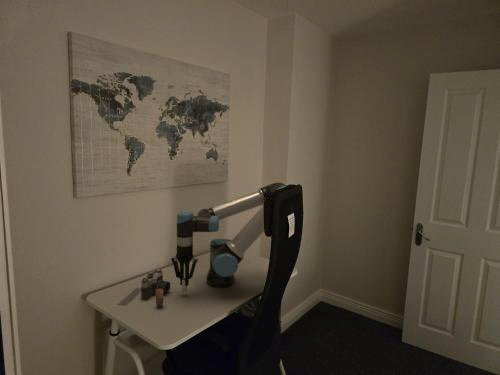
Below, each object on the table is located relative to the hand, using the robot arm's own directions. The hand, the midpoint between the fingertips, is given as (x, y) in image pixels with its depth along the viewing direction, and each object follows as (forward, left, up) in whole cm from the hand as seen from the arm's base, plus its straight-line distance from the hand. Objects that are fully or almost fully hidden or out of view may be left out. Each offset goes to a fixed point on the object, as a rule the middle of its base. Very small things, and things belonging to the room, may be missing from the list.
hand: (184, 291), depth 158 cm
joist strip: (+24, +6, -2) cm, 25 cm away
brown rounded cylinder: (+7, +13, -2) cm, 15 cm away
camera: (+13, +1, -2) cm, 13 cm away
